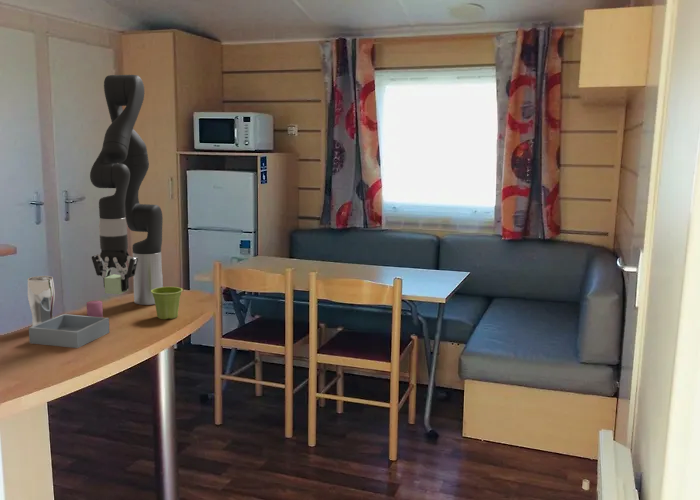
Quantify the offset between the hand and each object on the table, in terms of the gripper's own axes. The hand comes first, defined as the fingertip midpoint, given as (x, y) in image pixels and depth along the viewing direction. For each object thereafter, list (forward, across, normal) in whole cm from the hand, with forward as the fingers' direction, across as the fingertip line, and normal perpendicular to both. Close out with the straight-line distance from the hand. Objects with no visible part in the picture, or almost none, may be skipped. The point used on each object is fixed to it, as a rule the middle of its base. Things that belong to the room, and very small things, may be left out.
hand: (116, 290), depth 190 cm
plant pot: (+12, -9, -13) cm, 20 cm away
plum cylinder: (+11, +9, -2) cm, 15 cm away
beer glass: (+11, +19, +9) cm, 23 cm away
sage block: (+1, 0, 0) cm, 1 cm away
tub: (+11, +6, +14) cm, 18 cm away
